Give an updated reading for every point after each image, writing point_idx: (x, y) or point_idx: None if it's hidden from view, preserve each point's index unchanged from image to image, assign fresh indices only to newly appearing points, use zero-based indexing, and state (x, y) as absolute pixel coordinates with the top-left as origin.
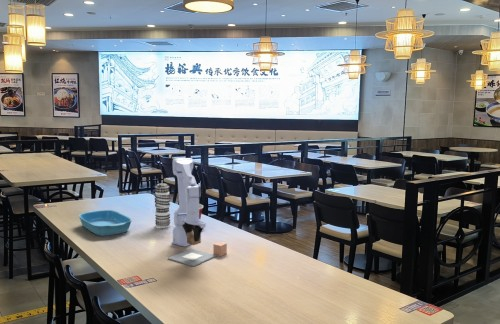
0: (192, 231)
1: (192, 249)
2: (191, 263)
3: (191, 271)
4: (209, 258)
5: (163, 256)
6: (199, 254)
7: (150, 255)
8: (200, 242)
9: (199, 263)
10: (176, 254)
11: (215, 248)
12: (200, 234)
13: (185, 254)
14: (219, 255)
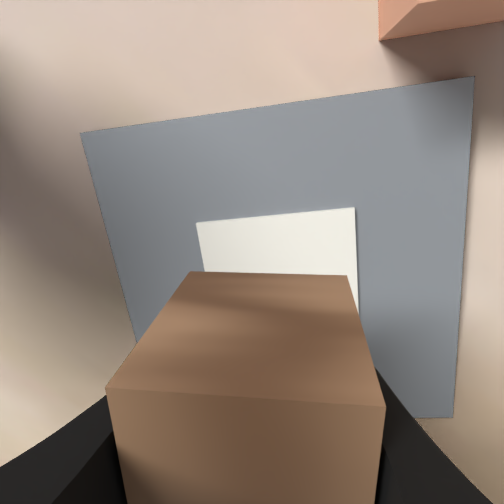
0: (137, 452)
1: (116, 144)
2: (403, 399)
3: (495, 471)
4: (465, 211)
5: (91, 394)
6: (291, 201)
7: (19, 428)
8: (348, 284)
9: (453, 350)
10: (137, 336)
11: (441, 13)
12: (375, 377)
13: None
14: (483, 23)
